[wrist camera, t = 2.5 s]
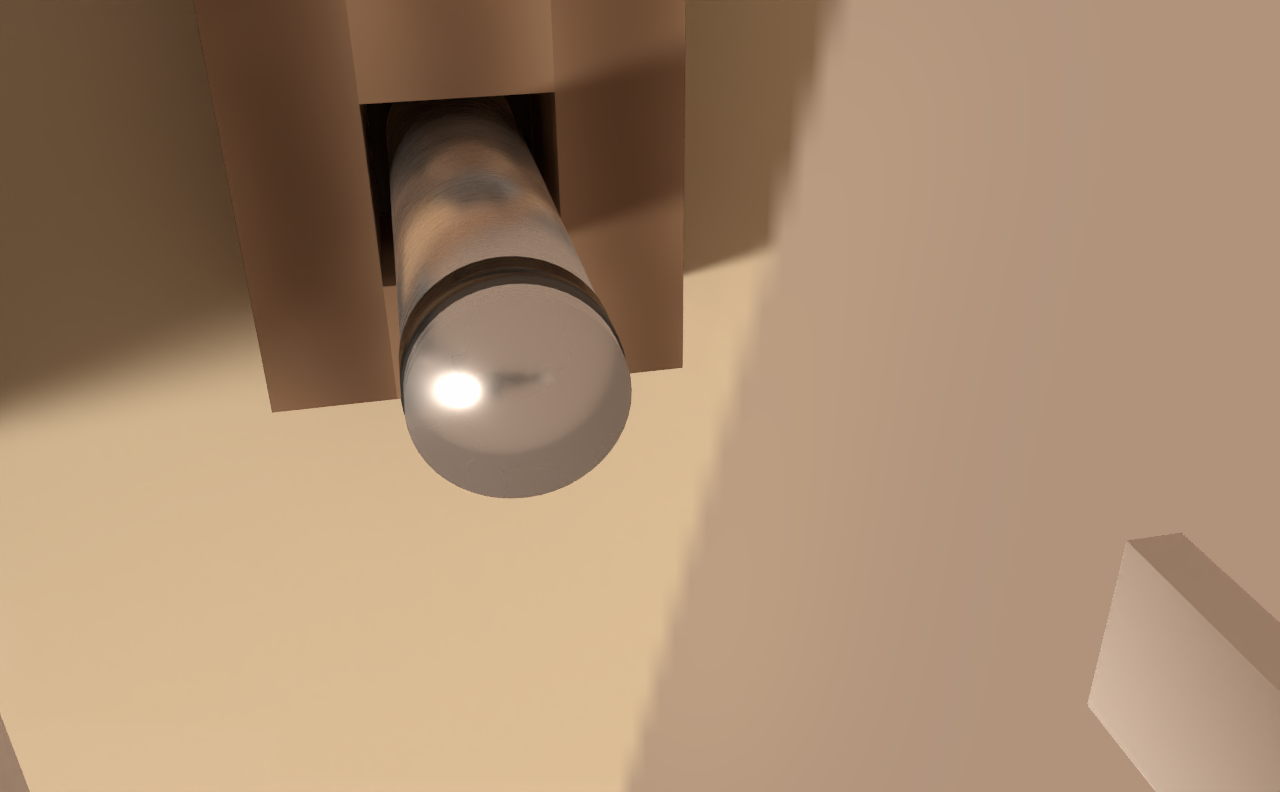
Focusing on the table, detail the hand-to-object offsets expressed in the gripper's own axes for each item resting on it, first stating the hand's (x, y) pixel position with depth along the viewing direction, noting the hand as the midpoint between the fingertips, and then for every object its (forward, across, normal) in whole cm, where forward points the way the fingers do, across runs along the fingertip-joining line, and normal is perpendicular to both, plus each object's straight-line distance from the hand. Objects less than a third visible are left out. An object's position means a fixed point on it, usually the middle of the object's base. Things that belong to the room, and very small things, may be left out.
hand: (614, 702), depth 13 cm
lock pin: (+26, 0, 0) cm, 26 cm away
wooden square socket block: (+26, 0, 0) cm, 26 cm away
